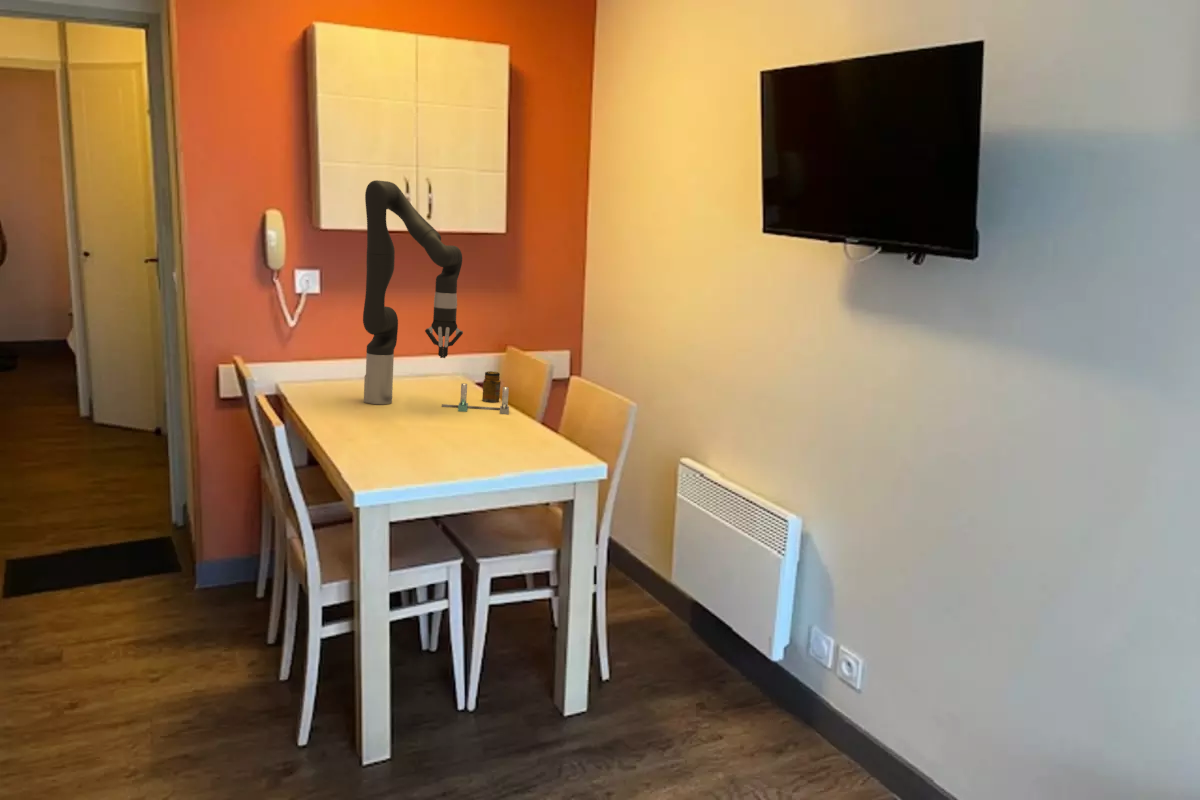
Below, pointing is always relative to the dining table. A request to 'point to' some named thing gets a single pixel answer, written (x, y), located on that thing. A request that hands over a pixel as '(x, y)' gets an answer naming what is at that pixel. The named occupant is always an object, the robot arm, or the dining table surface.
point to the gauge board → (472, 407)
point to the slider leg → (463, 399)
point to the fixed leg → (504, 401)
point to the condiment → (491, 387)
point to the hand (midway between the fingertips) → (442, 357)
